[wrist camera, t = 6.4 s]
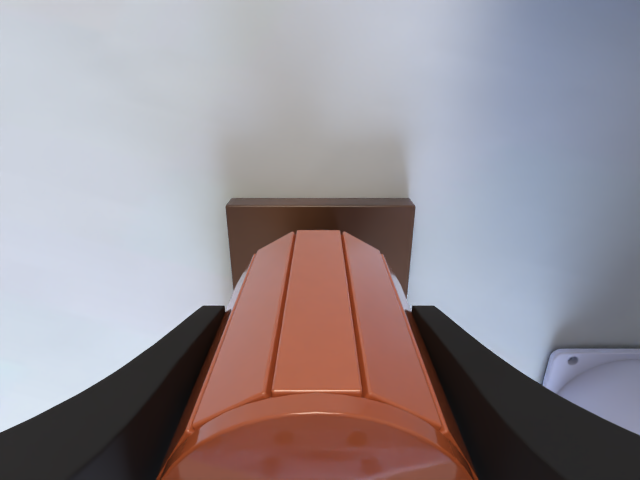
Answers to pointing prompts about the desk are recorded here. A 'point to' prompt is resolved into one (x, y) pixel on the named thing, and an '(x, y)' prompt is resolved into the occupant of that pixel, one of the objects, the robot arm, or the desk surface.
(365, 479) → the cup
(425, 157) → the desk surface
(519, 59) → the desk surface
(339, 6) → the desk surface
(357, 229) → the rack
